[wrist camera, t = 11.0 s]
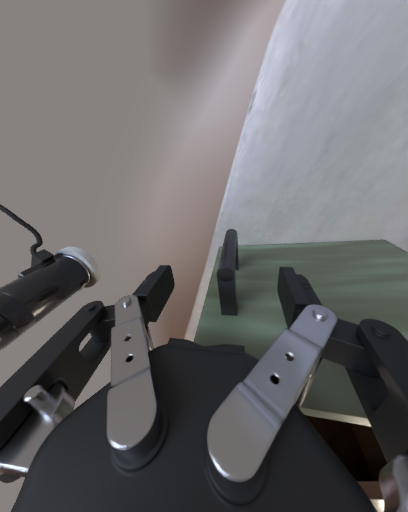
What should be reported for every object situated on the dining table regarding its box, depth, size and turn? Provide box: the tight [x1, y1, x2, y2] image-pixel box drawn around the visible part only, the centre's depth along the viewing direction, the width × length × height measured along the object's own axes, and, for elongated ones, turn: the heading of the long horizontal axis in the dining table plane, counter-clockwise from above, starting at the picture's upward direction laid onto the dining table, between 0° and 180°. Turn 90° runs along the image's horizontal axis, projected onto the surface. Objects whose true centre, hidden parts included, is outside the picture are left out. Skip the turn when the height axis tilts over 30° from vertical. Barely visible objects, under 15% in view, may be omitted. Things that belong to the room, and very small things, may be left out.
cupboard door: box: [194, 229, 408, 426], centre depth 18 cm, size 7×26×24 cm, turn 98°
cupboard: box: [305, 415, 387, 512], centre depth 24 cm, size 18×26×24 cm
